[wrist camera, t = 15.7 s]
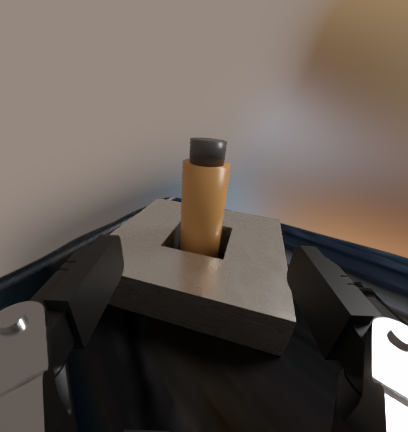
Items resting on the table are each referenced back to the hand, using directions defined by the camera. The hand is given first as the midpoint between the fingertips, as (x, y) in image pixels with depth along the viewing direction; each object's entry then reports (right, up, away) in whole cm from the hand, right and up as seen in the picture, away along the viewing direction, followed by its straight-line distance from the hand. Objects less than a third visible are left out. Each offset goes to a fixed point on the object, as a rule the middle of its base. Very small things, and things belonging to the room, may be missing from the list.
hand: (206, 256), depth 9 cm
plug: (-1, -4, +15) cm, 15 cm away
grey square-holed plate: (-1, -4, +15) cm, 15 cm away
